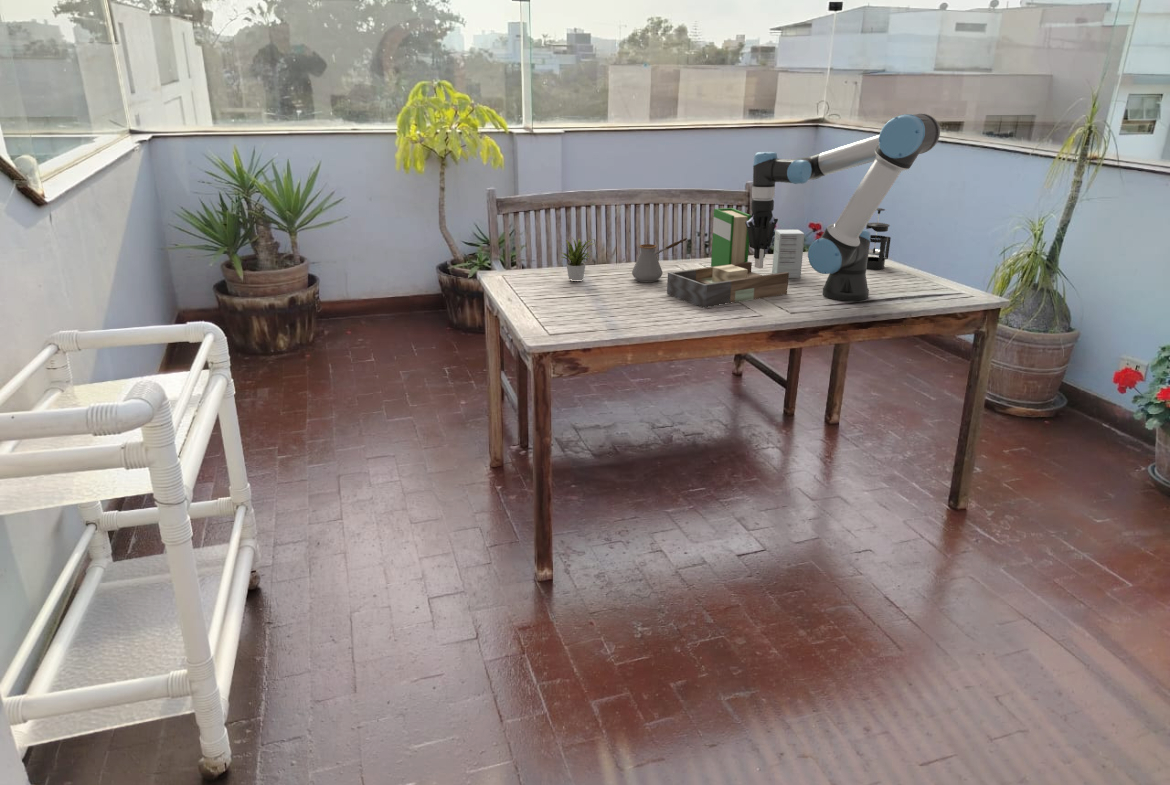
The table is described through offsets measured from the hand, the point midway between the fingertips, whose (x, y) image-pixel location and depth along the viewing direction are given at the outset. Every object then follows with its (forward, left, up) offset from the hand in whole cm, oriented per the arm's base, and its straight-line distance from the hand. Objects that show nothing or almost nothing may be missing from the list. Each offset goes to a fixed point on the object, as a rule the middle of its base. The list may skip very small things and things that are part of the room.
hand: (758, 267), depth 281 cm
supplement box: (+12, -24, -8) cm, 28 cm away
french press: (+6, -64, -8) cm, 65 cm away
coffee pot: (+31, +21, -8) cm, 38 cm away
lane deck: (+1, +13, -8) cm, 15 cm away
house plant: (+44, +48, -8) cm, 65 cm away
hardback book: (+23, -5, -8) cm, 24 cm away
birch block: (+1, +12, -4) cm, 13 cm away
